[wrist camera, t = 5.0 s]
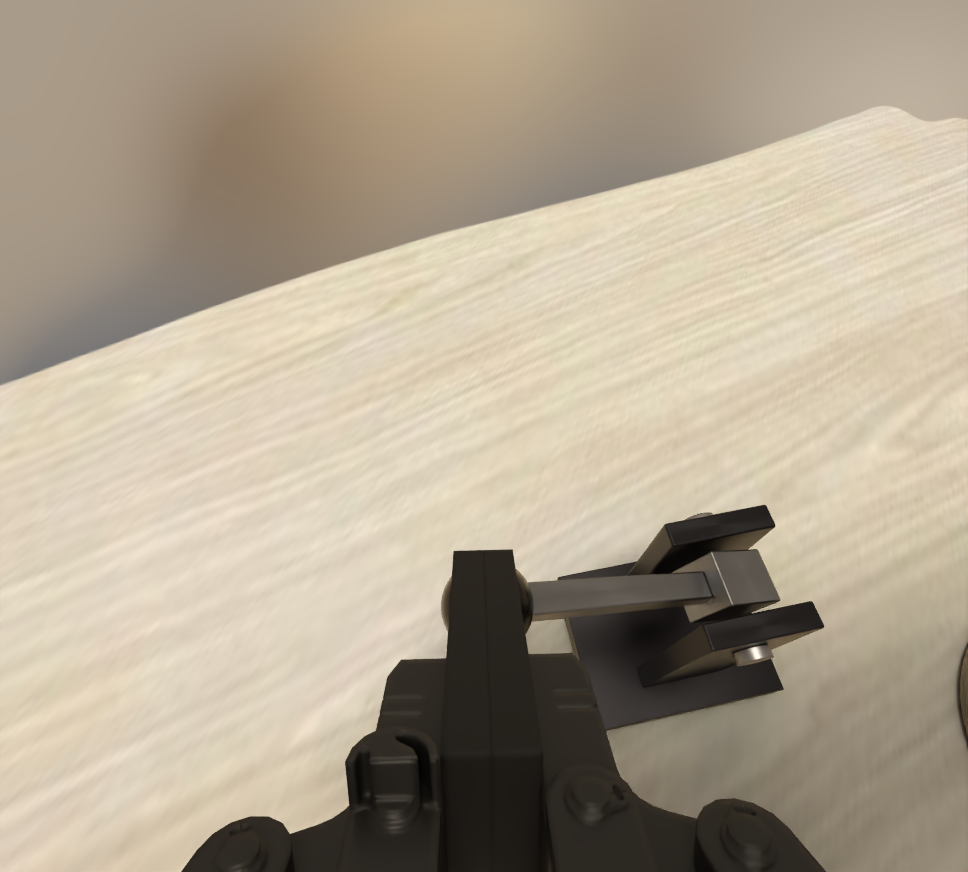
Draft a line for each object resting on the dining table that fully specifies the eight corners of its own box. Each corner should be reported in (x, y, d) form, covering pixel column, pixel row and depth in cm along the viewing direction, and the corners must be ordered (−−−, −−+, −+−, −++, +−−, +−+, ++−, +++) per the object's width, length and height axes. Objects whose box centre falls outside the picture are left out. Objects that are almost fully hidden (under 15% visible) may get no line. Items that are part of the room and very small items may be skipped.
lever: (435, 670, 18) (472, 646, 16) (422, 578, 20) (454, 545, 18) (735, 629, 25) (792, 608, 22) (708, 562, 26) (759, 536, 24)
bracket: (594, 733, 30) (652, 714, 20) (555, 582, 34) (586, 502, 24) (774, 692, 31) (918, 653, 21) (715, 550, 35) (812, 460, 25)
